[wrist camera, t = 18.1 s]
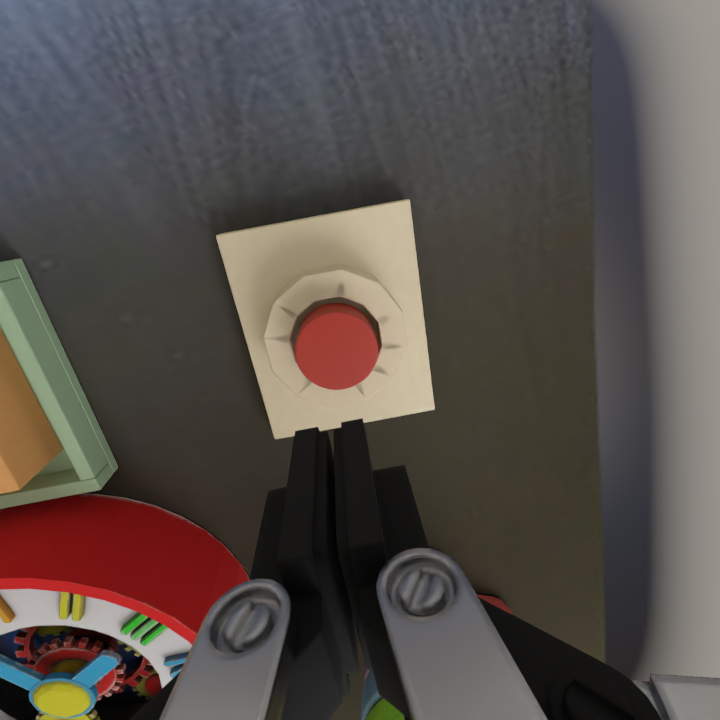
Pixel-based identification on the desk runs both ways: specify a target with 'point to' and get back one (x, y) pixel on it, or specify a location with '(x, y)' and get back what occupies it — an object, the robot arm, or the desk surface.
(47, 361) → the frame
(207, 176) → the desk surface
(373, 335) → the button
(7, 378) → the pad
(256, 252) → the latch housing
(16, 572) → the toy clock
